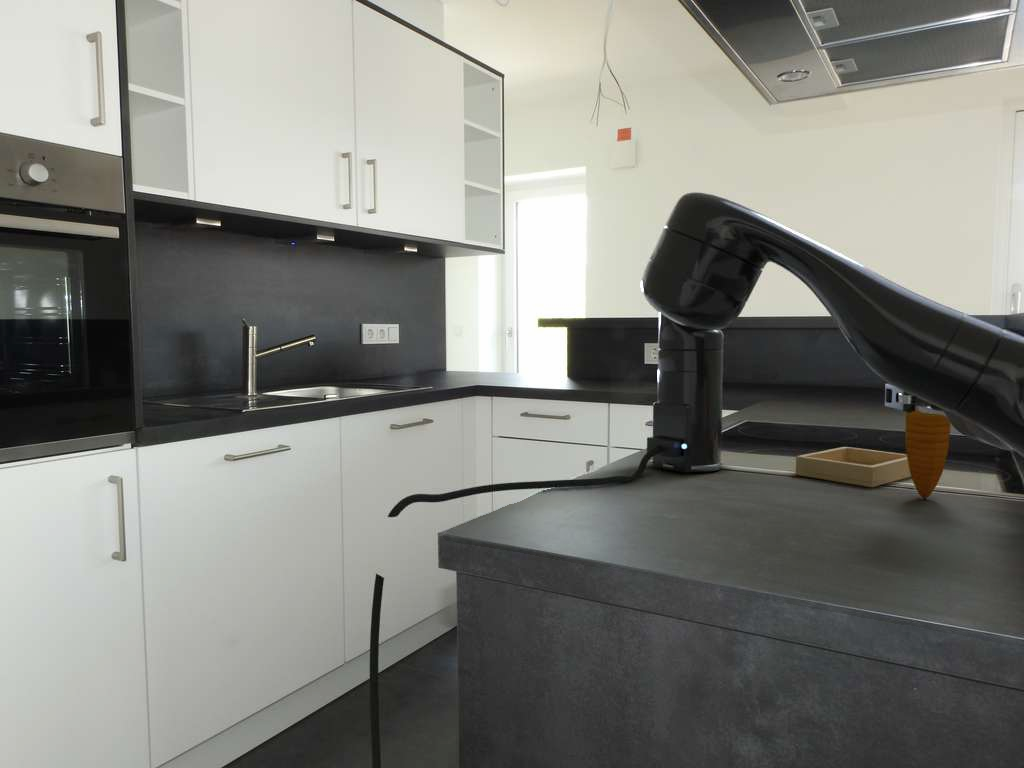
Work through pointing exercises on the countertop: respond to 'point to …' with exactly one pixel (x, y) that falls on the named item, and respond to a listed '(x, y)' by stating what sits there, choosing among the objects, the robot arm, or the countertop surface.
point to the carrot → (926, 448)
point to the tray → (854, 466)
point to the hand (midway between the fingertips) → (939, 392)
